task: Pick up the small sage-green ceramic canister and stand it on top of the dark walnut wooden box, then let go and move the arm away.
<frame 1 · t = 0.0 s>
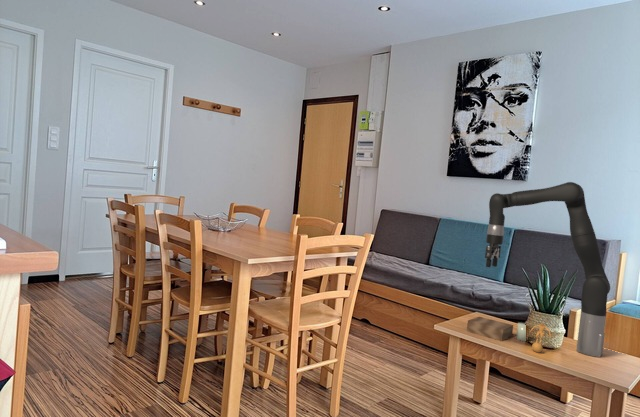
hand: (491, 266, 222), 29 cm above the table, tool pointing down, fingers open, 8 cm apart
sage canister: (522, 339, 203), on the table
figurine: (537, 352, 187), on the table
walnut box: (489, 333, 208), on the table
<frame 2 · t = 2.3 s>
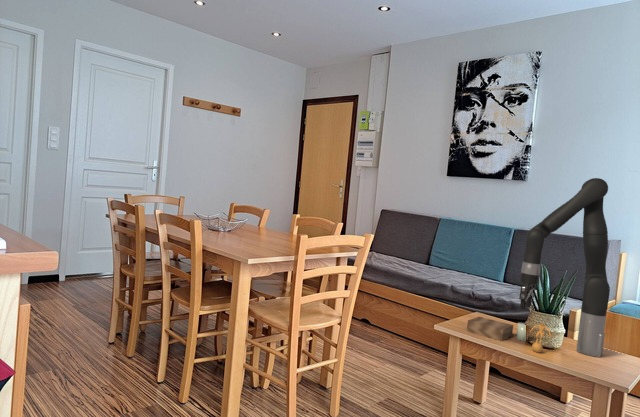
hand: (525, 308, 203), 14 cm above the table, tool pointing down, fingers open, 8 cm apart
nothing on the table moved.
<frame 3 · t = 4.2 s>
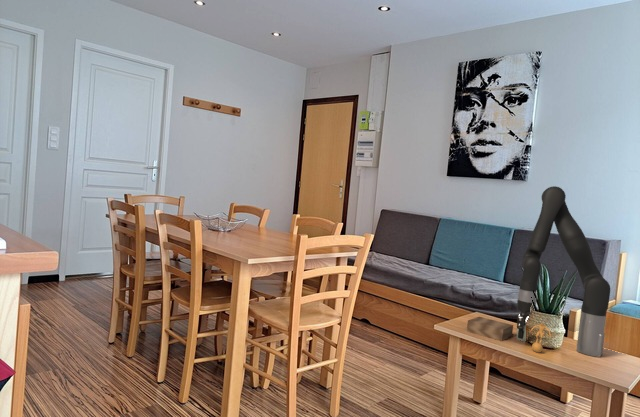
hand: (522, 337, 203), 1 cm above the table, tool pointing down, fingers open, 5 cm apart
sage canister: (522, 339, 203), on the table, touching gripper
everything else where it was.
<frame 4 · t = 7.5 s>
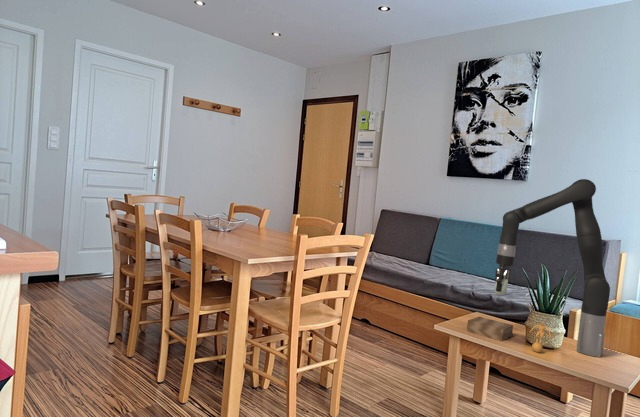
hand: (500, 290, 207), 20 cm above the table, tool pointing down, fingers closed on sage canister, 5 cm apart
sage canister: (500, 293, 207), point 19 cm above the table, touching gripper
everything else where it was.
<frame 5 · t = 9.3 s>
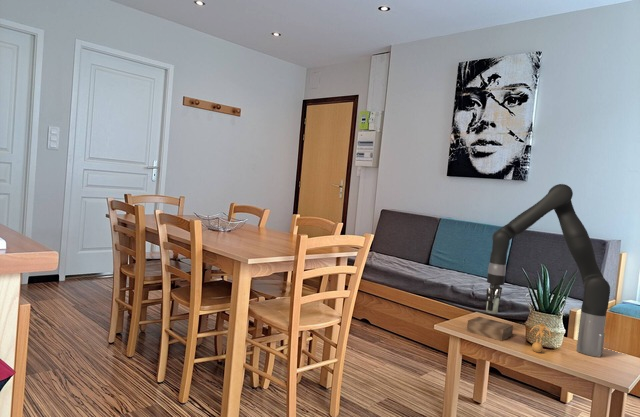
hand: (492, 309, 208), 11 cm above the table, tool pointing down, fingers closed on sage canister, 5 cm apart
sage canister: (491, 312, 208), point 10 cm above the table, touching gripper
everything else where it was.
when the fingers open (8 cm above the table, at t = 10.8 s): sage canister drops 2 cm, resting on walnut box.
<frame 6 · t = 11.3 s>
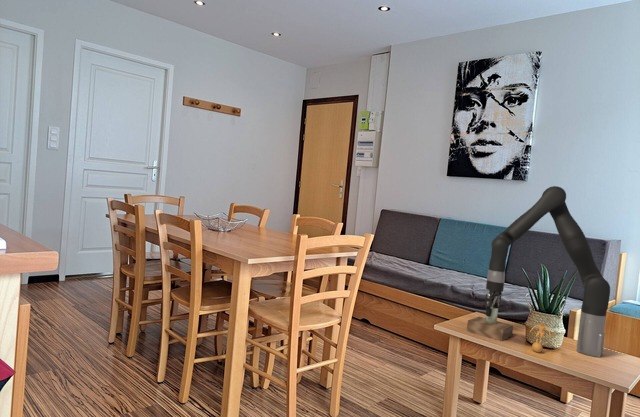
hand: (491, 315, 208), 9 cm above the table, tool pointing down, fingers open, 8 cm apart
sage canister: (490, 322, 208), point 5 cm above the table, touching walnut box
everything else where it was.
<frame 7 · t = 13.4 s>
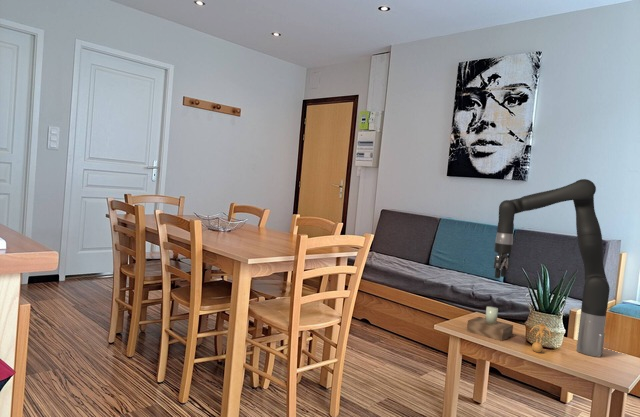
hand: (500, 277, 210), 26 cm above the table, tool pointing down, fingers open, 8 cm apart
nothing on the table moved.
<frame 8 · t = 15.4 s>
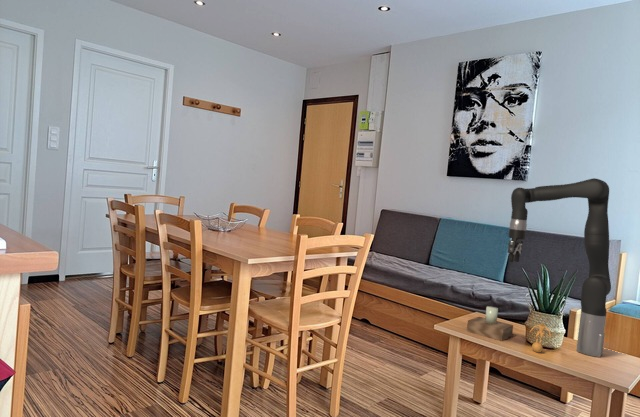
hand: (513, 261, 219), 33 cm above the table, tool pointing down, fingers open, 8 cm apart
nothing on the table moved.
at the end: sage canister inside the target area on the walnut box (0.0 cm from its centre), point 5.0 cm above the walnut box's base; sage canister tilted 0°; the gripper is holding nothing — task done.
